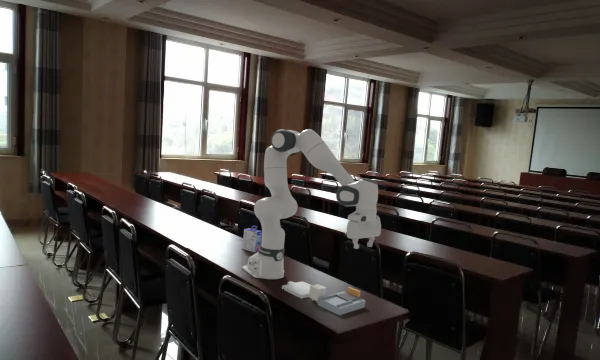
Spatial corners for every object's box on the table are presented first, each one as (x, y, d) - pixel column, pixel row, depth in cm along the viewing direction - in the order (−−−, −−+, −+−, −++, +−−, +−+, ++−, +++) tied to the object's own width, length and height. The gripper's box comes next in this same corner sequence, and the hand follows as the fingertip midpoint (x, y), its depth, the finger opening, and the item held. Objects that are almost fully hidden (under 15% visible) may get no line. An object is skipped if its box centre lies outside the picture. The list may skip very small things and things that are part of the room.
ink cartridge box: (260, 251, 254) (263, 227, 253) (255, 253, 249) (257, 228, 248) (247, 247, 259) (249, 223, 258) (241, 249, 254) (244, 225, 253)
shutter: (336, 296, 185) (336, 289, 185) (347, 292, 191) (348, 286, 191) (349, 302, 180) (350, 295, 180) (360, 298, 186) (361, 291, 186)
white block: (308, 300, 185) (310, 285, 185) (316, 298, 189) (318, 283, 188) (316, 304, 182) (318, 289, 181) (324, 302, 185) (326, 287, 185)
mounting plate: (278, 287, 198) (278, 283, 198) (298, 283, 207) (299, 279, 207) (305, 301, 185) (305, 297, 185) (326, 296, 194) (326, 292, 194)
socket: (317, 305, 181) (318, 296, 181) (342, 297, 193) (343, 289, 193) (339, 315, 173) (340, 306, 173) (364, 307, 185) (365, 298, 184)
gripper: (374, 214, 197) (371, 244, 198) (345, 215, 183) (342, 248, 184) (385, 216, 193) (382, 246, 194) (357, 218, 179) (354, 251, 179)
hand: (363, 247), depth 189 cm, fingers open, 8 cm apart
